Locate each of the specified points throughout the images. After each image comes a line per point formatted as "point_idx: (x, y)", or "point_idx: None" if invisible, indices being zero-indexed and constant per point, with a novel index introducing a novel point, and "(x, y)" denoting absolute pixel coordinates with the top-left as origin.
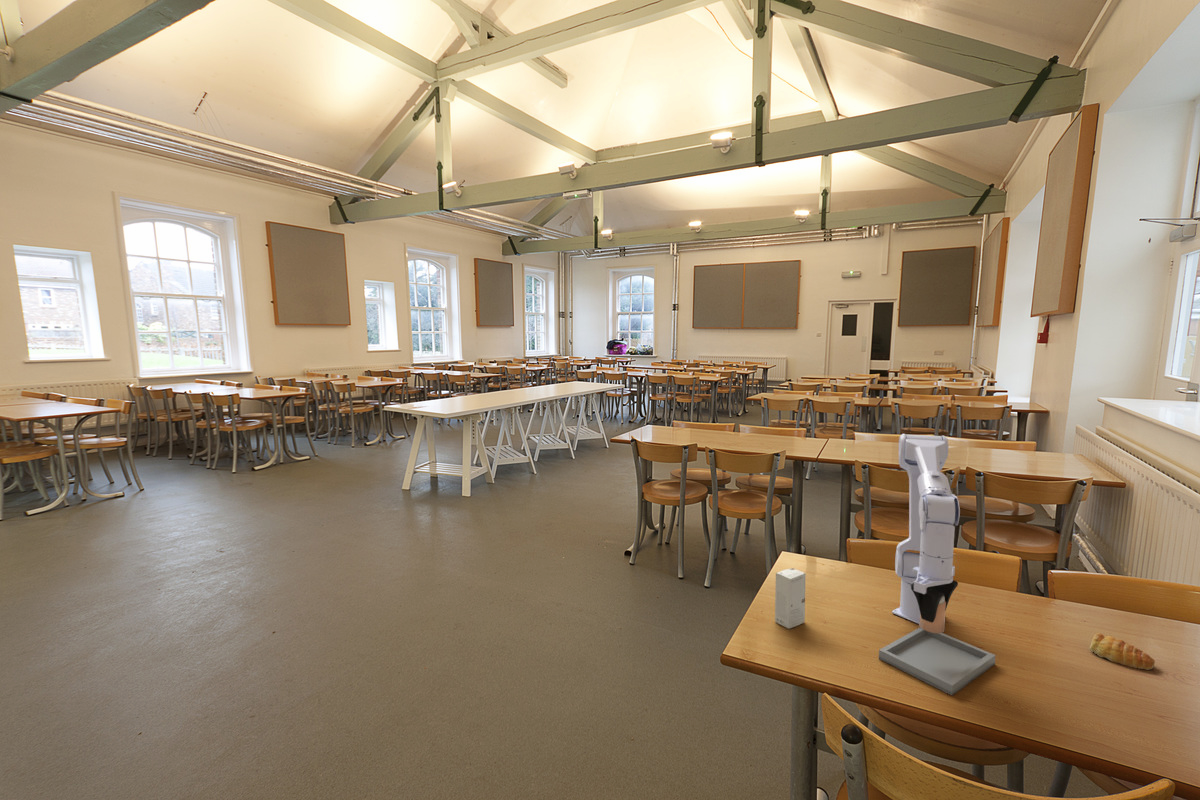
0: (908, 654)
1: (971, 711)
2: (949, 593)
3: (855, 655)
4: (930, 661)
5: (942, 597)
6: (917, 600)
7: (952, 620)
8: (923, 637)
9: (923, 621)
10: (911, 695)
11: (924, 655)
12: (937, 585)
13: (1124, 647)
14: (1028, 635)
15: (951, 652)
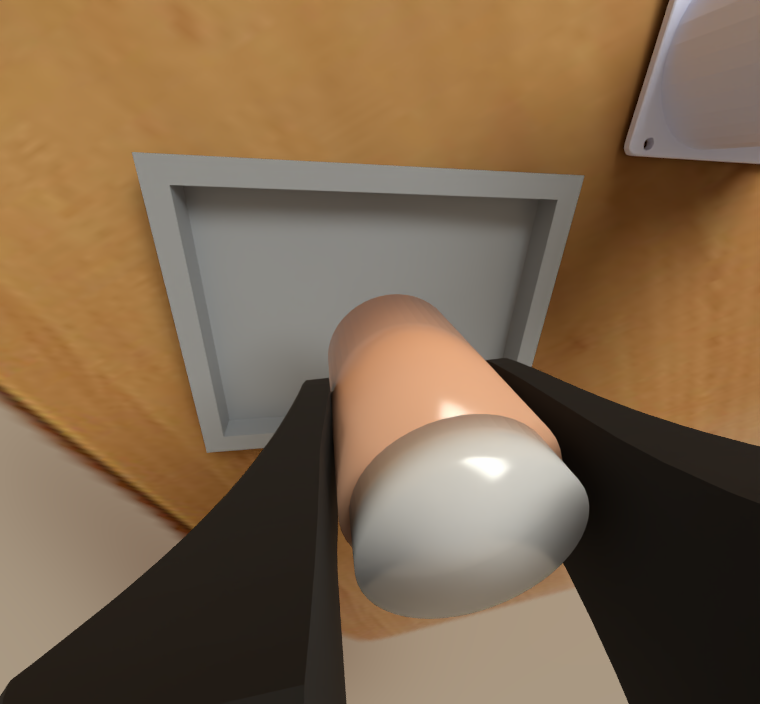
0: (305, 238)
1: (199, 479)
2: (594, 618)
3: (41, 38)
4: (334, 315)
5: (488, 596)
6: (232, 491)
7: (743, 200)
8: (503, 205)
9: (331, 365)
10: (72, 372)
11: (357, 281)
12: (681, 605)
13: None
14: (733, 383)
15: (462, 325)
